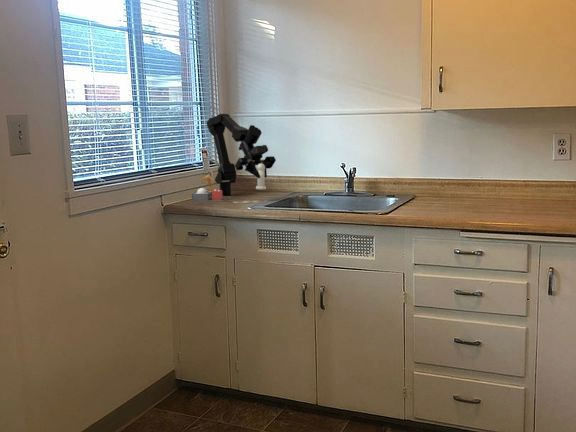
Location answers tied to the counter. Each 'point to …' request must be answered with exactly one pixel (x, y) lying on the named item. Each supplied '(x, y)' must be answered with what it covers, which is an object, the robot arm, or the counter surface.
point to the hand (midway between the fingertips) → (262, 177)
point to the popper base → (208, 196)
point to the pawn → (261, 177)
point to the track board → (250, 201)
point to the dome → (201, 191)
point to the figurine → (208, 181)
